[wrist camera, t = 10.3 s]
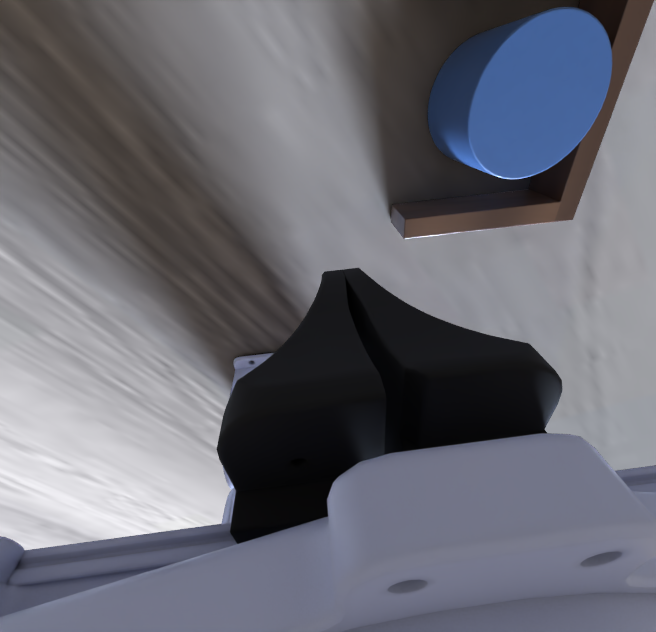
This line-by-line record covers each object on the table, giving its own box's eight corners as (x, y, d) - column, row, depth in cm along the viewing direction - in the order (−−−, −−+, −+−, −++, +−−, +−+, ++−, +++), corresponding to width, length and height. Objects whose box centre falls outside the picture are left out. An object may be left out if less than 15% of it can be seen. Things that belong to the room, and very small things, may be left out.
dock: (390, 222, 21) (403, 239, 18) (400, -57, 14) (423, -91, 11) (540, 205, 21) (573, 219, 19) (626, -78, 14) (697, -115, 12)
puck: (422, 166, 19) (457, 185, 15) (433, 35, 16) (483, 13, 11) (518, 156, 19) (579, 172, 15) (551, 24, 16) (641, -1, 12)
